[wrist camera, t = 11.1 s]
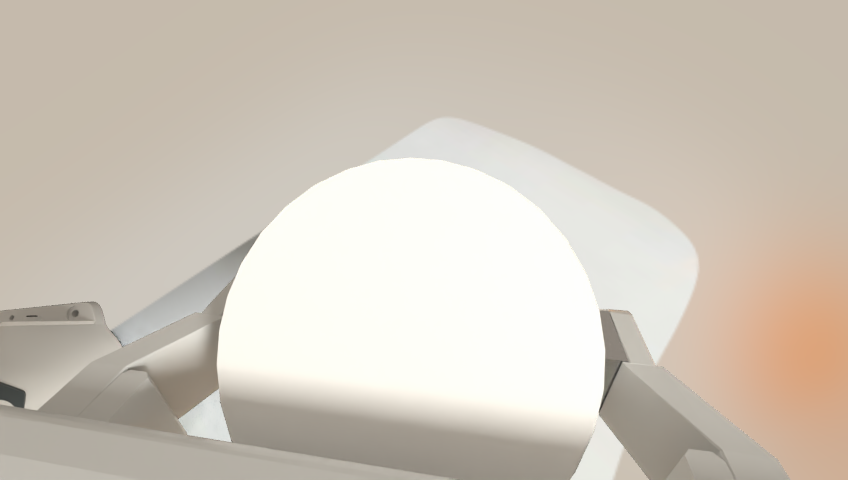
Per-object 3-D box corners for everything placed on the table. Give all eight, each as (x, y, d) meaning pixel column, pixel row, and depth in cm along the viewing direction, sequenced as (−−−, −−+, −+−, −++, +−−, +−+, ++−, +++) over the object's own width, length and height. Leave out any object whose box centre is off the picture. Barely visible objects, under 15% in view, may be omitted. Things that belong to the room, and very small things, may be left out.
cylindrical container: (410, 280, 32) (246, 158, 8) (492, 283, 31) (594, 156, 7) (406, 365, 31) (186, 540, 6) (492, 370, 30) (619, 593, 6)
